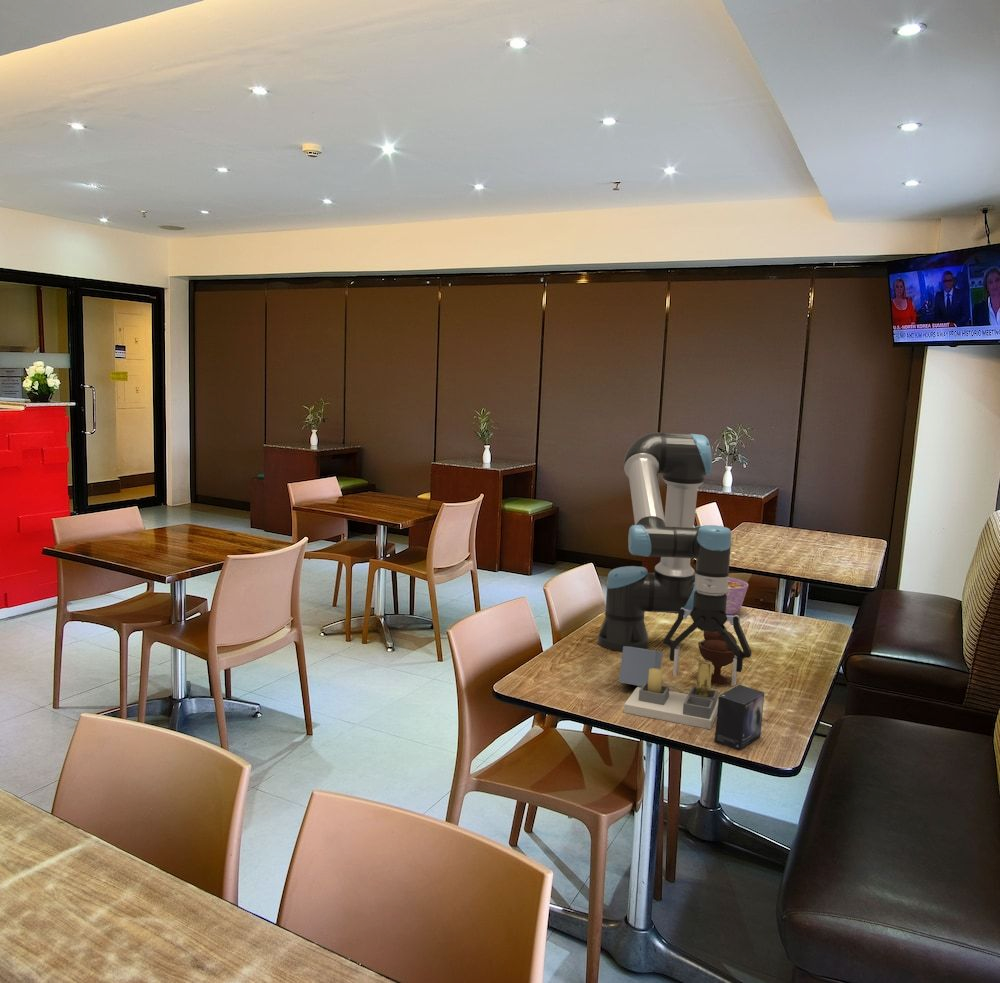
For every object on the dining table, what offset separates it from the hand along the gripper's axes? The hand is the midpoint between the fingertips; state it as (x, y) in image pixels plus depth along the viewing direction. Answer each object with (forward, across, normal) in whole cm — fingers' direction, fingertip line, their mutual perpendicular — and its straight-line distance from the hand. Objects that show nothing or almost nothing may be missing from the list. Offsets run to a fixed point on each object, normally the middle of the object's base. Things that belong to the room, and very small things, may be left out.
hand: (704, 679), depth 187 cm
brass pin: (+6, 0, 0) cm, 6 cm away
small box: (+8, +10, -13) cm, 18 cm away
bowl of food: (+8, -10, +94) cm, 95 cm away
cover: (+7, -17, +7) cm, 19 cm away
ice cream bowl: (+8, 0, +23) cm, 25 cm away
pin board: (+8, -6, -3) cm, 11 cm away
